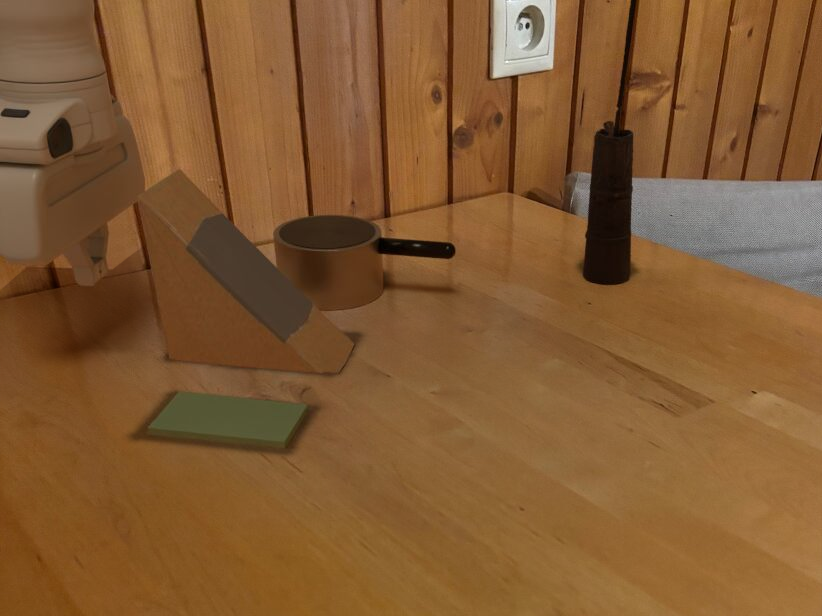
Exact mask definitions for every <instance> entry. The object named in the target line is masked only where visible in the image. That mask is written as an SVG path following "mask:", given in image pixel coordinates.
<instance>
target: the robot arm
mask: <svg viewBox="0 0 822 616" xmlns="http://www.w3.org/2000/svg"><path fill="white" fill-rule="evenodd" d="M94 21H95V2H94V0H0V255H1V256H2V258H4V259H5V260H6V261H7V262H8V263H9V264H13V265H20V266H30V267H46V266H48V265H49V264H51V263H52V262H53V261H54V260H56V259H58V258H59V257H61V256H62V255H63V257H64V258H65V260H66V261H67V262H68V264H69V265H70V266H71V269H72V271H73V275H74V279H75V282H76V284H77V285H79V286H83V287H90V288H91V287H93V286H95V285H96V284H98V282H100V281H101V280H102V279H104V277H106V276H107V275H108V274H109V272H110V271H109V270H110V269H109V266H108V260H107V254H108V245H109V244H108V243H109V235H110V231H109V226H108V223H109V222H110V221H112V220H113V219H114V218H116V217H117V216H119V215H120V214H122V213H123V212H124V211H126V210H127V209H129V208H130V207H132V206H133V205H134V204H136V203H138V196H139V195H140V194H142V193H143V192H144V191H146V177H145V172H144V167H143V163H142V159H141V154H140V150H139V145H138V142H137V139H136V135H135V131H134V129H133V126H132V124H131V122H130V120H129V118H127V117H126V116H125V115H124V114H123V108H122V106H121V102H120V101H118V100H117V98H115V97H114V95H113V94H112V92H111V90H110V85H109V84H110V83H109V79H108V73H107V68H106V63H105V60H104V59H103V56H102V54H101V52H100V49H99V47H98V44H97V41H96V36H95V27H94Z"/></svg>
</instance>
